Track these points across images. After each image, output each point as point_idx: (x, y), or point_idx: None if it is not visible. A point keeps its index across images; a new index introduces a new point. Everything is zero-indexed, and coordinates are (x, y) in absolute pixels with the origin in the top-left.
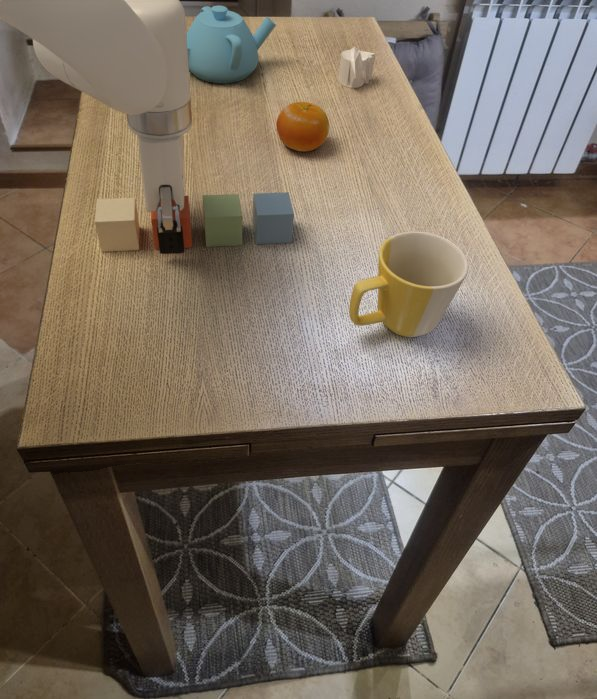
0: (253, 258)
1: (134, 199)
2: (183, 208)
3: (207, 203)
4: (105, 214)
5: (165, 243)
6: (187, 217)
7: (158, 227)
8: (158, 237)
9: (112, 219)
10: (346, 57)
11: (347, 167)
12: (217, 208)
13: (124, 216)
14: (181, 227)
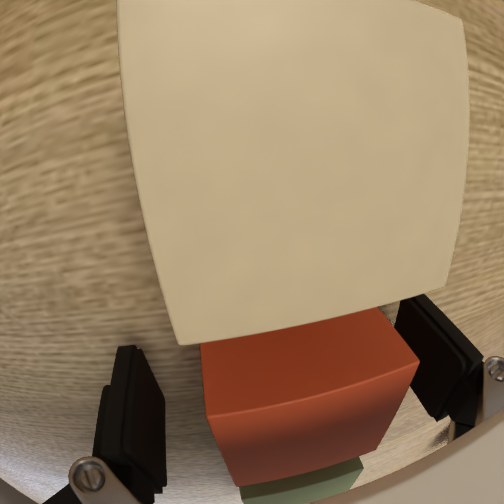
0: (195, 460)
1: (430, 289)
2: (298, 468)
3: (316, 487)
4: (249, 66)
5: (99, 416)
6: (237, 484)
7: (73, 488)
8: (107, 413)
9: (162, 156)
10: None
11: (406, 462)
12: (288, 500)
13: (220, 269)
14: (154, 492)
